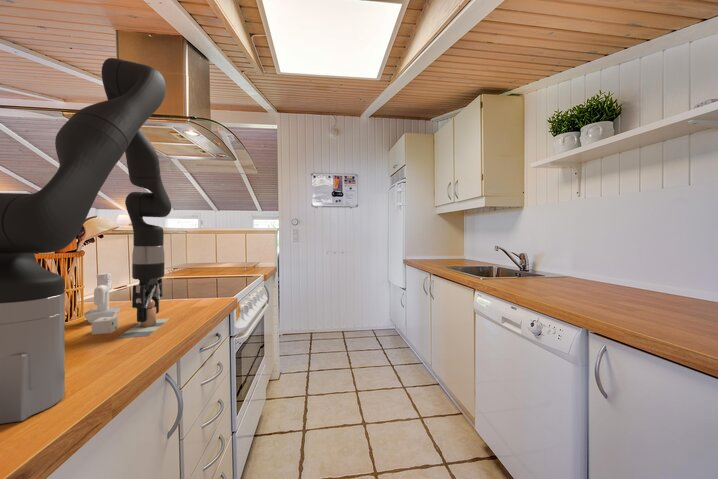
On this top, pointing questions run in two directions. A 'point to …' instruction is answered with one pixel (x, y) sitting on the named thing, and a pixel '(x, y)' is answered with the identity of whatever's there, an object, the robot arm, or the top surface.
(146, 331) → the board
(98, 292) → the figurine
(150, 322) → the pawn
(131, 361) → the top surface
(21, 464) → the top surface
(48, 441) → the top surface
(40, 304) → the robot arm
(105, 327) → the die
